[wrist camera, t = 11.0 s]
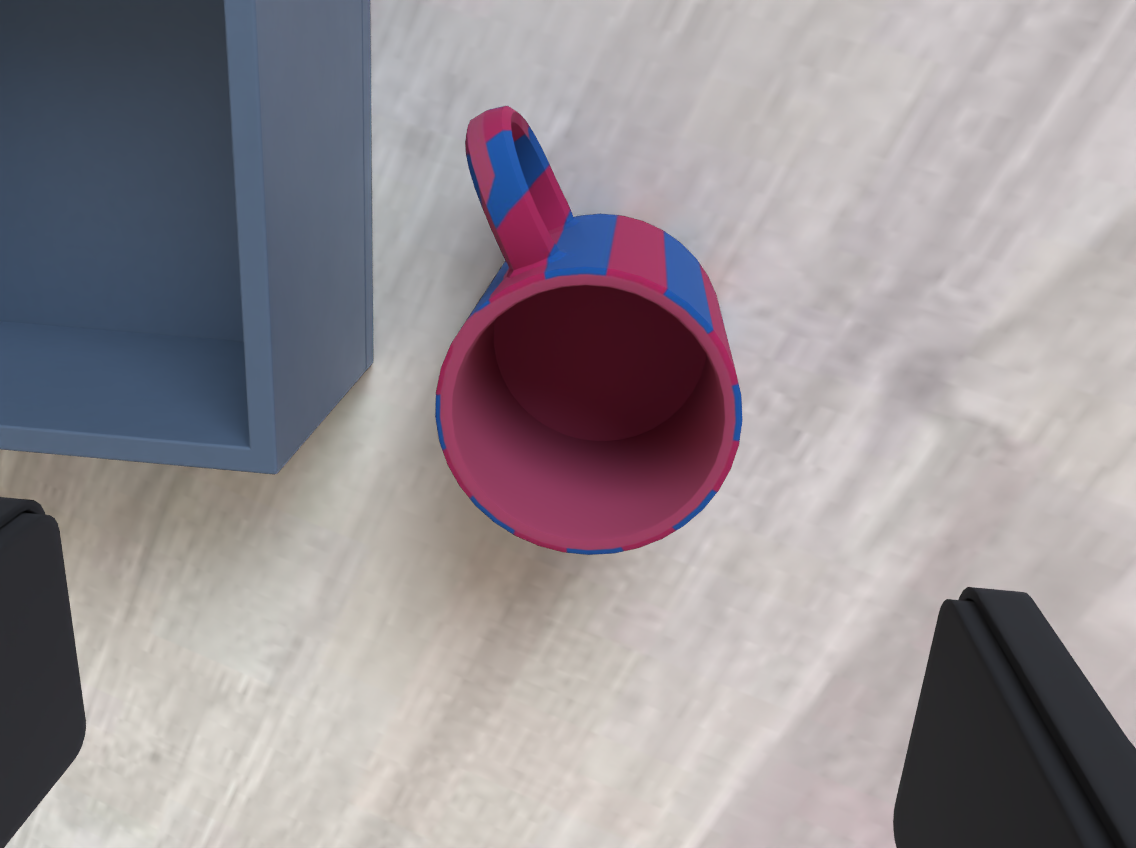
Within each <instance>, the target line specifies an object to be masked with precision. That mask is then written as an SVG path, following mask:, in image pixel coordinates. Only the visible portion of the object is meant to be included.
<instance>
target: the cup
mask: <svg viewBox="0 0 1136 848" xmlns="http://www.w3.org/2000/svg"><path fill="white" fill-rule="evenodd" d="M465 146H466V156H467V161H468V166H469V170H470V174H471V177H472V180H473V183H474V187H475V190H476V192H477V195H478V198H479V200H480V203H481V206H482V208H483V211H484V213H485V215H486V218H487V220H488V223H489V225H490V228H491V230H492V232H493V234H494V237H495V239H496V241H497V243H498V246H499V248H500V250H501V252H502V254H503V256H504V258H505V260H506V261H505V262H504V264H503V265H502V267H501V268H500V270H499V271H498V273H497V274H496V276H495V278H494V279H493V281H492V282H491V284H490V285H489V287H488V288H487V290H486V291H485V293H484V294H483V296H482V297H481V299H480V300H479V302H478V304H477V305H476V307H475V308H474V310H473V311H472V313H471V314H470V316H469V317H468V319H467V320H466V322H465V323H464V325H463V326H462V328H461V330H460V331H459V333H458V334H457V336H456V337H455V339H454V340H453V342H452V343H451V345H450V348H449V350H448V352H447V355H446V357H445V360H444V362H443V364H442V367H441V371H440V375H439V380H438V385H437V390H436V415H435V417H436V423H437V430H438V436H439V442H440V444H441V447H442V450H443V453H444V456H445V459H446V461H447V464H448V466H449V468H450V470H451V472H452V473H453V475H454V477H455V479H456V480H457V482H458V484H459V486H460V487H461V488H462V490H463V491H464V492H465V493H466V495H467V496H468V497H469V498H470V499H471V501H472V502H473V503H474V504H475V506H476V507H478V508H479V509H480V510H481V511H482V512H483V513H484V514H485V515H487V516H488V517H489V518H490V519H491V520H492V521H493V522H495V523H496V524H498V525H499V526H501V527H502V528H504V529H506V530H507V531H509V532H510V533H512V534H514V535H515V536H517V537H519V538H522V539H524V540H526V541H529V542H531V543H533V544H536V545H538V546H541V547H545V548H549V549H553V550H557V551H561V552H566V553H576V554H586V555H593V554H611V553H618V552H622V551H627V550H632V549H636V548H640V547H642V546H645V545H648V544H650V543H653V542H655V541H658V540H660V539H663V538H664V537H666V536H668V535H669V534H671V533H673V532H674V531H676V530H678V529H679V528H681V527H683V526H684V525H685V524H687V523H688V522H689V521H690V520H691V519H692V518H694V517H695V516H696V515H697V514H698V513H699V512H701V511H702V510H703V509H704V508H705V506H706V505H707V504H708V503H709V502H710V500H711V499H712V498H713V497H714V495H715V494H716V493H717V492H718V491H719V489H720V487H721V485H722V484H723V482H724V480H725V478H726V476H727V475H728V473H729V471H730V469H731V467H732V464H733V461H734V458H735V455H736V452H737V449H738V446H739V440H740V433H741V426H742V402H741V392H740V388H739V384H738V379H737V375H736V371H735V367H734V363H733V359H732V355H731V351H730V347H729V343H728V339H727V335H726V331H725V327H724V324H723V320H722V316H721V312H720V308H719V304H718V300H717V296H716V293H715V291H714V289H713V286H712V284H711V282H710V280H709V277H708V275H707V274H706V272H705V271H704V269H703V268H702V266H701V265H700V264H699V262H698V261H697V259H696V258H695V257H694V256H693V255H692V254H691V253H690V252H689V251H688V250H687V249H686V248H685V247H684V246H683V245H682V244H681V243H680V242H679V241H677V240H676V239H675V238H673V237H672V236H670V235H669V234H667V233H666V232H665V231H663V230H661V229H659V228H657V227H655V226H652V225H650V224H648V223H646V222H644V221H641V220H637V219H633V218H629V217H625V216H620V215H608V214H593V215H583V216H577V217H573V215H572V212H571V210H570V207H569V205H568V203H567V201H566V199H565V197H564V195H563V193H562V191H561V189H560V186H559V184H558V182H557V180H556V178H555V176H554V173H553V171H552V169H551V167H550V165H549V162H548V160H547V158H546V156H545V154H544V152H543V150H542V148H541V146H540V144H539V142H538V140H537V138H536V136H535V135H534V133H533V131H532V130H531V128H530V126H529V125H528V123H527V122H526V120H525V119H524V118H523V117H522V116H521V115H520V114H519V113H518V112H516V111H515V110H514V109H512V108H510V107H509V106H503V107H499V108H494V109H490V110H487V111H485V112H483V113H482V114H480V115H478V116H477V117H475V118H473V119H472V120H470V123H469V125H468V129H467V134H466V141H465Z"/></svg>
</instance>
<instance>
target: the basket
mask: <svg viewBox="0 0 1136 848" xmlns="http://www.w3.org/2000/svg"><path fill="white" fill-rule="evenodd" d="M372 363H373V284H372V167H371V51H370V0H0V449H3V450H14V451H25V452H36V453H47V454H58V455H69V456H80V457H91V458H102V459H113V460H124V461H135V462H146V463H157V464H167V465H178V466H189V467H200V468H211V469H222V470H233V471H244V472H254V473H265V474H277V473H278V472H279V471H280V470H281V469H282V468H283V466H284V465H285V464H286V463H287V462H288V461H289V459H290V458H291V457H292V456H293V455H294V454H295V453H296V451H297V450H298V449H299V448H300V447H301V446H302V444H303V443H304V442H305V441H306V440H307V439H308V437H309V436H310V435H311V434H312V433H313V432H314V430H315V429H316V428H317V427H318V426H319V425H320V423H321V422H322V421H323V420H324V419H325V418H326V416H327V415H328V414H329V413H330V412H331V411H332V409H333V408H334V407H335V406H336V405H337V404H338V403H339V401H340V400H341V399H342V398H343V397H344V396H345V394H346V393H347V392H348V391H349V390H350V389H351V387H352V386H353V385H354V384H355V383H356V382H357V380H358V379H359V378H360V377H361V376H362V375H363V373H364V372H365V371H366V370H367V369H368V368H369V367H370V366H371V364H372Z"/></svg>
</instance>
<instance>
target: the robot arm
mask: <svg viewBox="0 0 1136 848" xmlns="http://www.w3.org/2000/svg"><path fill="white" fill-rule="evenodd" d="M85 730H86V719H85V712H84V705H83V697H82V690H81V683H80V676H79V668H78V661H77V654H76V647H75V639H74V632H73V625H72V617H71V610H70V603H69V596H68V588H67V581H66V574H65V567H64V559H63V552H62V545H61V538H60V531H59V527H58V523H57V522H56V520H55V518H53V517H52V516H50V515H45V512H44V510H43V508H42V507H41V505H40V504H39V503H37V502H36V501H34V500H25V499H14V498H4V497H0V848H4V847H5V846H6V844H7V843H8V842H9V841H10V839H11V838H12V837H13V836H14V834H15V833H16V832H17V831H18V829H19V828H20V827H21V826H22V824H23V823H24V822H25V821H26V819H27V818H28V817H29V816H30V814H31V813H32V812H33V811H34V809H35V808H36V807H37V806H38V804H39V803H40V802H41V801H42V799H43V798H44V797H45V796H46V794H47V793H48V792H49V791H50V789H51V788H52V787H53V786H54V784H55V783H56V782H57V781H58V780H59V778H60V777H61V776H62V775H63V773H64V772H65V771H66V770H67V768H68V767H69V766H70V765H71V763H72V762H73V761H74V759H75V758H76V756H77V755H78V753H79V751H80V749H81V747H82V744H83V740H84V737H85ZM893 825H894V838H895V843H896V847H897V848H1136V749H1135V747H1134V746H1133V745H1132V743H1131V742H1130V741H1129V740H1128V738H1127V737H1126V735H1125V734H1124V733H1123V731H1122V730H1121V728H1120V727H1119V725H1118V724H1117V722H1116V721H1115V719H1114V718H1113V716H1112V715H1111V713H1110V712H1109V711H1108V709H1107V708H1106V706H1105V705H1104V703H1103V702H1102V700H1101V699H1100V697H1099V696H1098V694H1097V693H1096V692H1095V690H1094V689H1093V687H1092V686H1091V684H1090V683H1089V681H1088V680H1087V678H1086V677H1085V675H1084V674H1083V672H1082V671H1081V670H1080V668H1079V667H1078V665H1077V664H1076V662H1075V661H1074V659H1073V658H1072V656H1071V655H1070V653H1069V652H1068V651H1067V649H1066V648H1065V646H1064V645H1063V643H1062V642H1061V640H1060V639H1059V637H1058V636H1057V634H1056V633H1055V632H1054V630H1053V629H1052V627H1051V626H1050V624H1049V623H1048V621H1047V620H1046V618H1045V617H1044V615H1043V614H1042V612H1041V611H1040V610H1039V608H1038V607H1037V605H1036V604H1035V602H1034V601H1033V599H1032V598H1031V597H1030V596H1029V595H1028V594H1027V593H1024V592H1016V591H1005V590H994V589H983V588H973V587H967V588H966V589H965V590H963V592H962V594H961V595H960V597H959V600H951V599H947V600H945V601H944V602H943V604H942V606H941V608H940V611H939V615H938V619H937V624H936V628H935V632H934V637H933V641H932V645H931V650H930V654H929V659H928V663H927V667H926V672H925V676H924V680H923V685H922V689H921V693H920V698H919V702H918V707H917V711H916V715H915V720H914V724H913V728H912V733H911V737H910V741H909V746H908V750H907V754H906V759H905V763H904V768H903V772H902V776H901V781H900V785H899V789H898V794H897V798H896V802H895V808H894V819H893Z"/></svg>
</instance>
